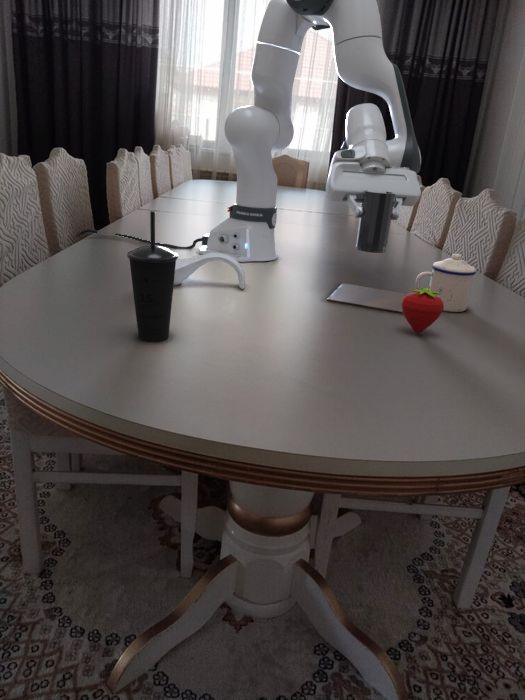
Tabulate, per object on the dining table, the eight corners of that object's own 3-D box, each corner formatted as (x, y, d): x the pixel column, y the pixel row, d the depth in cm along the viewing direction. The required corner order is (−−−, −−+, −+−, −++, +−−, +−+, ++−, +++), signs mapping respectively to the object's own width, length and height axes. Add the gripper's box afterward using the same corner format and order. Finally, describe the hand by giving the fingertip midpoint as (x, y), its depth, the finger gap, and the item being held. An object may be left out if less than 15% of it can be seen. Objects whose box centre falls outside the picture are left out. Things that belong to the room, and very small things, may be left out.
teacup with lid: (461, 302, 119) (473, 252, 115) (472, 314, 110) (484, 260, 106) (408, 297, 120) (418, 247, 116) (415, 309, 111) (425, 255, 107)
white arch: (134, 287, 111) (133, 253, 108) (145, 274, 122) (144, 243, 119) (244, 294, 112) (246, 261, 109) (245, 280, 123) (247, 250, 120)
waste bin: (353, 250, 109) (361, 191, 105) (358, 245, 115) (366, 189, 111) (383, 254, 108) (393, 194, 103) (387, 249, 113) (397, 192, 109)
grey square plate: (326, 300, 112) (327, 298, 112) (342, 284, 126) (342, 283, 126) (401, 313, 108) (402, 311, 107) (409, 295, 122) (409, 293, 122)
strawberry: (394, 325, 100) (404, 274, 96) (434, 329, 99) (445, 279, 95) (398, 335, 94) (408, 282, 91) (440, 340, 94) (452, 286, 90)
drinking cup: (132, 327, 88) (130, 206, 81) (178, 329, 89) (180, 210, 81) (125, 344, 81) (122, 213, 73) (175, 346, 82) (176, 216, 74)
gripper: (409, 178, 118) (418, 228, 112) (321, 172, 115) (325, 223, 110) (420, 158, 112) (430, 210, 107) (328, 151, 109) (333, 204, 104)
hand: (376, 217), depth 108 cm, fingers closed on waste bin, 6 cm apart
